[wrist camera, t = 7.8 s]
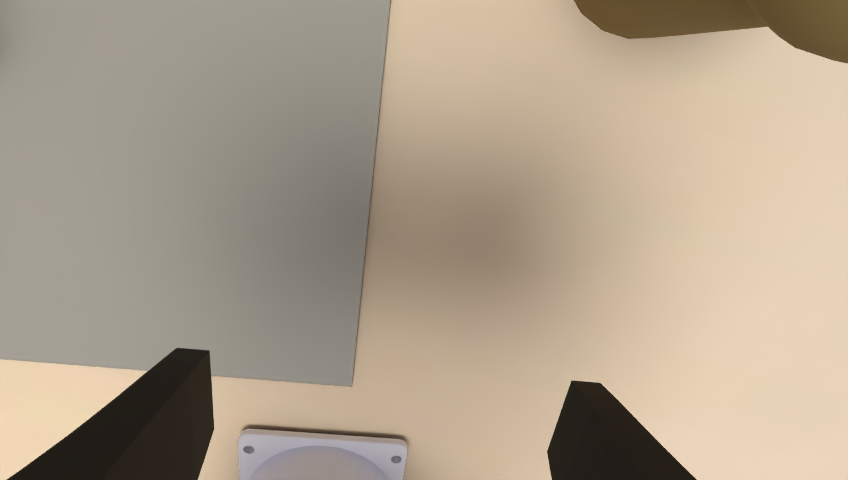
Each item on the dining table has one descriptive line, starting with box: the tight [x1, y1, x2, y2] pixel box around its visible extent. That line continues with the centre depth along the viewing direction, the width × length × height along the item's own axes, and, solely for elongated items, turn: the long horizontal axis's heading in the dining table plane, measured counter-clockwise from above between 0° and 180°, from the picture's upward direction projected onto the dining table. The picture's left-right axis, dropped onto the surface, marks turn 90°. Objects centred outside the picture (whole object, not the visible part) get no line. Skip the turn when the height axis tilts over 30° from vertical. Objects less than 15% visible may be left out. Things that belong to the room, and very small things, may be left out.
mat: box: [0, 0, 390, 387], centre depth 18 cm, size 20×20×1 cm
